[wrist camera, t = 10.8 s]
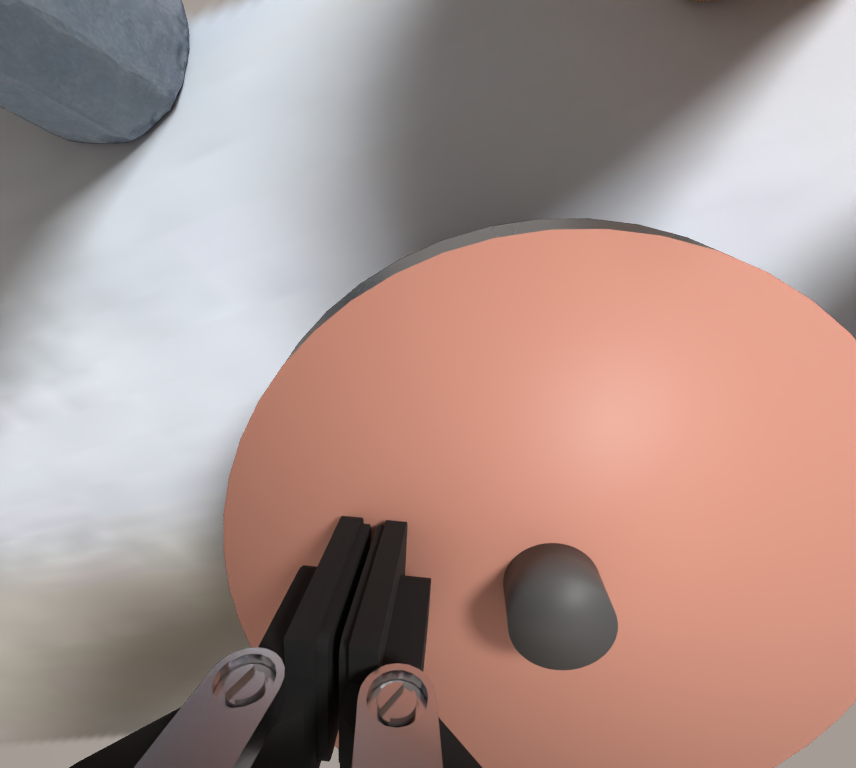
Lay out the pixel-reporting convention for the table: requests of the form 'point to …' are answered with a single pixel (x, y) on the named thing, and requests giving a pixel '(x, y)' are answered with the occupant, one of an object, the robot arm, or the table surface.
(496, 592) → the lid
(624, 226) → the cooker pot
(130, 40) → the moka pot
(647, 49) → the table surface
